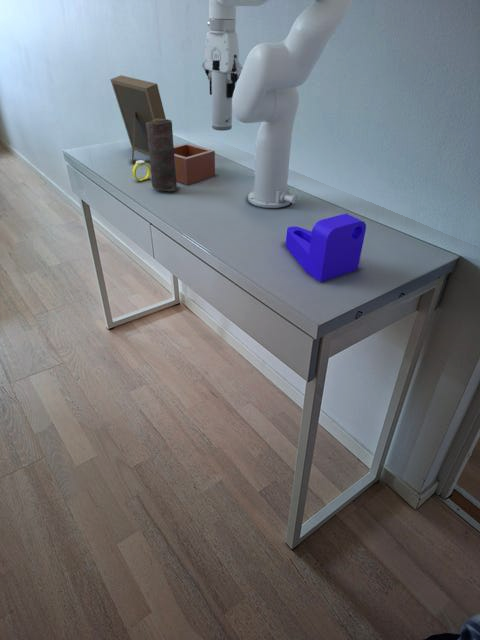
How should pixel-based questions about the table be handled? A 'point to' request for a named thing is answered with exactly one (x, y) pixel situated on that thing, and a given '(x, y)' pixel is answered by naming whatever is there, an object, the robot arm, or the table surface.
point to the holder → (193, 163)
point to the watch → (139, 162)
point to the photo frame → (138, 108)
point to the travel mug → (220, 100)
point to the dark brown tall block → (161, 154)
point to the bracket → (328, 246)
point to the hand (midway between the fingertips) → (222, 95)
